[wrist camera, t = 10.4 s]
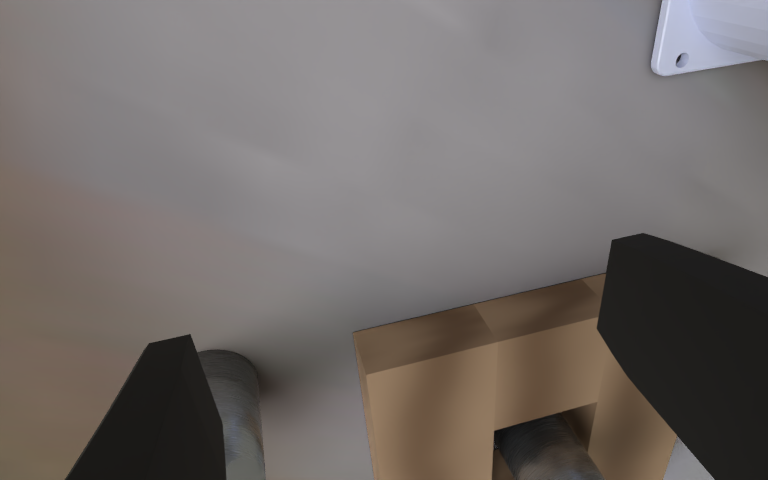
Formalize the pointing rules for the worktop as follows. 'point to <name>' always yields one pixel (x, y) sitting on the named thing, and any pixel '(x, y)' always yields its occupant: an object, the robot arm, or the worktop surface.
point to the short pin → (237, 411)
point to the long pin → (545, 451)
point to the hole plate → (503, 388)
